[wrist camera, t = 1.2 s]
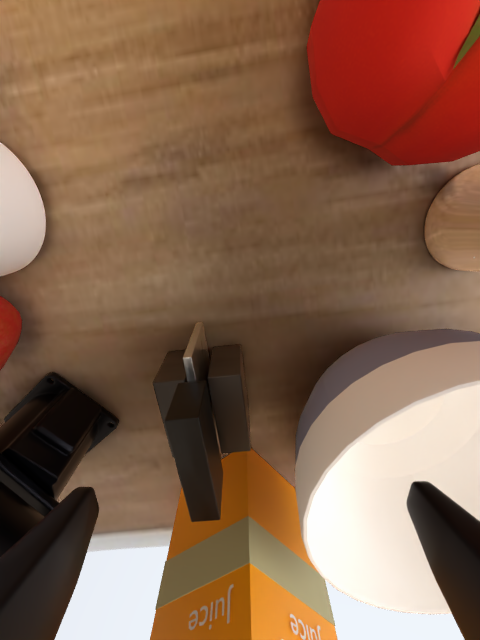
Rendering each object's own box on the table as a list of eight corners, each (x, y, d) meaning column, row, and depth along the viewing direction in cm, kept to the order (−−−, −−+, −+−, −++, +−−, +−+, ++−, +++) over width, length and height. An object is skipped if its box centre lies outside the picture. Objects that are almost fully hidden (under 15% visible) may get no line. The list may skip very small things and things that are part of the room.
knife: (229, 432, 23) (224, 538, 16) (210, 434, 23) (195, 540, 16) (210, 320, 20) (192, 390, 12) (188, 323, 20) (156, 393, 12)
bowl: (480, 256, 18) (715, 306, 9) (495, 437, 23) (652, 578, 15) (246, 341, 20) (250, 447, 11) (310, 487, 26) (347, 637, 17)
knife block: (249, 411, 22) (251, 451, 19) (183, 417, 23) (172, 458, 19) (240, 343, 20) (240, 374, 17) (168, 351, 20) (152, 383, 17)
